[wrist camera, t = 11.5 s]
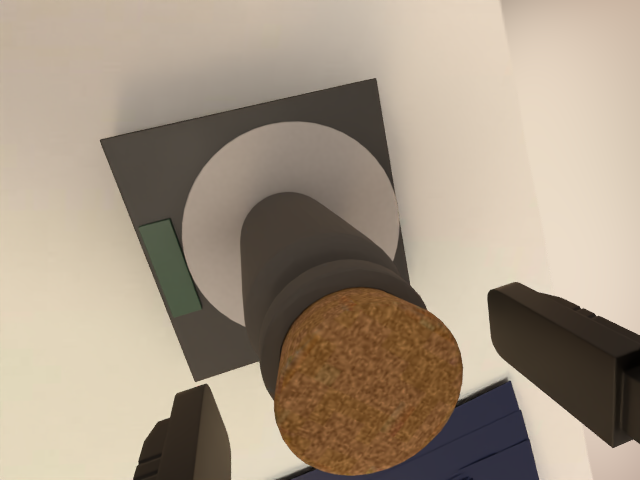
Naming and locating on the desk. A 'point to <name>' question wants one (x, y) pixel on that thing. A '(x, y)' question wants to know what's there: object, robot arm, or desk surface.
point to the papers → (467, 446)
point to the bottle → (342, 340)
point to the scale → (248, 200)
